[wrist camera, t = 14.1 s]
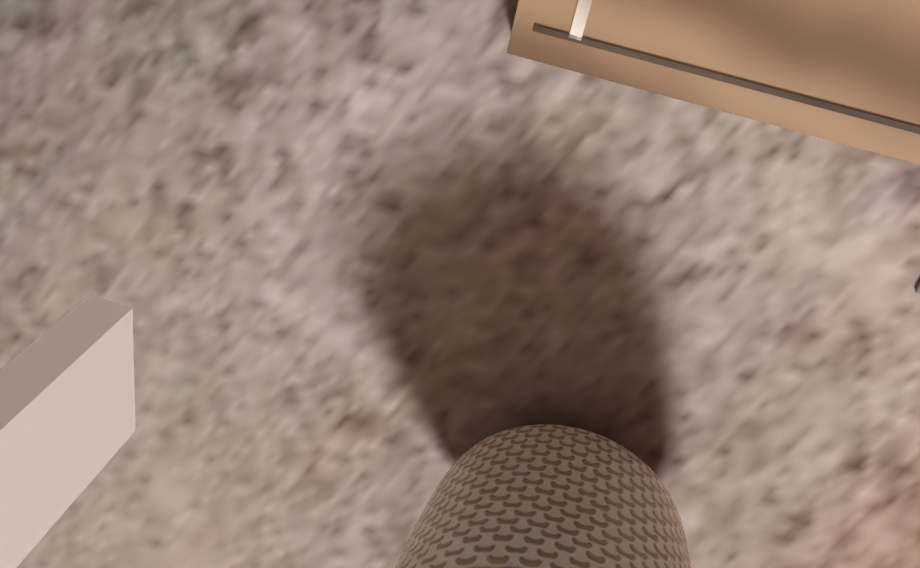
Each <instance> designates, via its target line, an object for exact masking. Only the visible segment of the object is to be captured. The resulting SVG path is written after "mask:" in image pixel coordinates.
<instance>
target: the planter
mask: <svg viewBox="0 0 920 568" xmlns="http://www.w3.org/2000/svg"><path fill="white" fill-rule="evenodd" d="M396 568H691V562H690V557H689V552H688V547H687V543H686V538H685V534H684V530H683V526H682V523H681V519H680V516H679V513H678V511H677V509H676V506H675V504H674V502H673V500H672V498H671V496H670V494H669V492H668V491H667V489H666V487H665V486H664V485H663V483H662V482H661V480H660V479H659V477H658V476H657V475H656V473H655V472H654V471H653V470H652V469H651V468H650V467H649V466H648V465H647V464H646V463H645V462H644V461H642V460H641V459H640V458H639V457H637V456H636V455H635V454H633V453H632V452H631V451H629V450H628V449H627V448H625V447H623V446H621V445H620V444H618V443H616V442H614V441H613V440H611V439H609V438H606V437H604V436H601V435H599V434H597V433H594V432H591V431H587V430H584V429H580V428H576V427H570V426H564V425H552V424H537V425H526V426H521V427H516V428H512V429H508V430H504V431H501V432H499V433H496V434H493V435H491V436H489V437H487V438H485V439H484V440H482V441H480V442H479V443H477V444H475V445H474V446H473V447H471V448H470V449H469V450H468V451H467V452H465V453H464V454H463V455H462V456H461V457H460V458H459V459H458V460H457V461H456V462H455V463H454V464H453V466H452V467H451V468H450V470H449V471H448V472H447V474H446V475H445V476H444V478H443V479H442V480H441V482H440V483H439V485H438V486H437V488H436V490H435V491H434V493H433V495H432V496H431V498H430V500H429V502H428V503H427V505H426V507H425V509H424V511H423V513H422V515H421V516H420V518H419V520H418V522H417V524H416V526H415V528H414V530H413V532H412V534H411V536H410V538H409V540H408V542H407V545H406V547H405V549H404V551H403V553H402V555H401V557H400V559H399V562H398V564H397V566H396Z"/></svg>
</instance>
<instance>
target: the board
mask: <svg viewBox="0 0 920 568" xmlns="http://www.w3.org/2000/svg"><path fill="white" fill-rule="evenodd" d="M507 53H509V54H512V55H516V56H520V57H524V58H527V59H531V60H535V61H538V62H542V63H546V64H549V65H553V66H557V67H561V68H564V69H568V70H572V71H575V72H579V73H583V74H586V75H590V76H594V77H598V78H601V79H605V80H609V81H612V82H616V83H620V84H623V85H627V86H631V87H635V88H638V89H642V90H646V91H649V92H653V93H657V94H661V95H664V96H668V97H672V98H675V99H679V100H683V101H686V102H690V103H694V104H698V105H701V106H705V107H709V108H712V109H716V110H720V111H723V112H727V113H731V114H735V115H738V116H742V117H746V118H749V119H753V120H757V121H761V122H764V123H768V124H772V125H775V126H779V127H783V128H786V129H790V130H794V131H798V132H801V133H805V134H809V135H812V136H816V137H820V138H823V139H827V140H831V141H835V142H838V143H842V144H846V145H849V146H853V147H857V148H861V149H864V150H868V151H872V152H875V153H879V154H883V155H886V156H890V157H894V158H898V159H901V160H905V161H909V162H912V163H916V164H920V0H519V1H518V6H517V10H516V14H515V19H514V23H513V27H512V32H511V36H510V40H509V45H508V49H507Z"/></svg>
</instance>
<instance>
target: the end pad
mask: <svg viewBox="0 0 920 568" xmlns="http://www.w3.org/2000/svg"><path fill="white" fill-rule="evenodd" d="M915 291H916V293H920V282H919V283H918V285H917V287H916V288H915Z"/></svg>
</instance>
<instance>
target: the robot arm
mask: <svg viewBox="0 0 920 568" xmlns="http://www.w3.org/2000/svg"><path fill="white" fill-rule="evenodd" d="M134 431H135V396H134V355H133V314H132V308H130V307H127V306H123V305H120V304H117V303H114V302H111V301H107V300H104V299H101V298H98V297H95V296H91V295H89V296H88V297H87V298H85V299H84V300H83V301H82V302H81V303H79V304H78V305H77V306H76V307H75V308H74V309H72V310H71V311H70V312H69V313H68V314H66V315H65V316H64V317H63V318H62V319H60V320H59V321H58V322H57V323H56V324H54V325H53V326H52V327H51V328H50V329H48V330H47V331H46V332H45V333H44V334H42V335H41V336H40V337H39V338H38V339H36V340H35V341H34V342H33V343H32V344H30V345H29V346H28V347H27V348H26V349H24V350H23V351H22V352H21V353H20V354H18V355H17V356H16V357H15V358H14V359H13V360H11V361H10V362H9V363H8V364H7V365H5V366H4V367H3V368H2V369H1V370H0V568H16V567H17V566H18V565H19V564H20V563H21V562H22V560H23V559H24V558H25V557H26V556H27V555H28V554H29V552H30V551H31V550H32V549H33V548H34V547H35V545H36V544H37V543H38V542H39V541H40V540H41V539H42V537H43V536H44V535H45V534H46V533H47V532H48V530H49V529H50V528H51V527H52V526H53V525H54V524H55V522H56V521H57V520H58V519H59V518H60V517H61V515H62V514H63V513H64V512H65V511H66V510H67V509H68V507H69V506H70V505H71V504H72V503H73V502H74V501H75V499H76V498H77V497H78V496H79V495H80V494H81V492H82V491H83V490H84V489H85V488H86V487H87V486H88V484H89V483H90V482H91V481H92V480H93V479H94V477H95V476H96V475H97V474H98V473H99V472H100V471H101V469H102V468H103V467H104V466H105V465H106V464H107V463H108V461H109V460H110V459H111V458H112V457H113V456H114V454H115V453H116V452H117V451H118V450H119V449H120V448H121V446H122V445H123V444H124V443H125V442H126V441H127V439H128V438H129V437H130V436H131V435H132V434H133V433H134Z"/></svg>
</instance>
